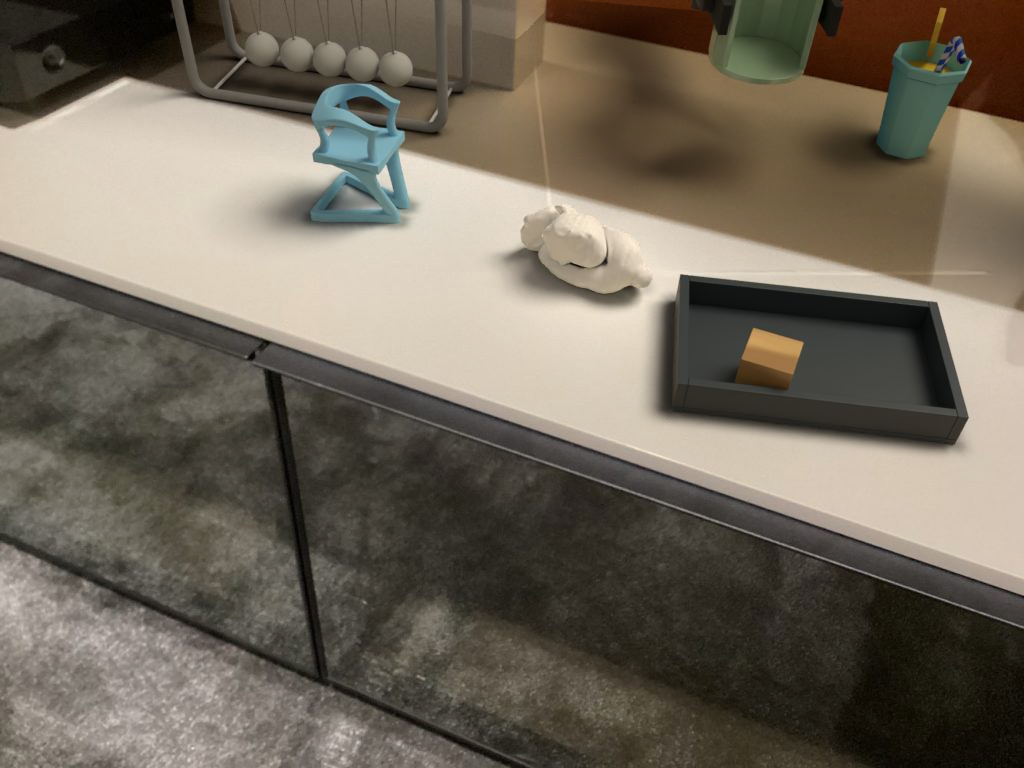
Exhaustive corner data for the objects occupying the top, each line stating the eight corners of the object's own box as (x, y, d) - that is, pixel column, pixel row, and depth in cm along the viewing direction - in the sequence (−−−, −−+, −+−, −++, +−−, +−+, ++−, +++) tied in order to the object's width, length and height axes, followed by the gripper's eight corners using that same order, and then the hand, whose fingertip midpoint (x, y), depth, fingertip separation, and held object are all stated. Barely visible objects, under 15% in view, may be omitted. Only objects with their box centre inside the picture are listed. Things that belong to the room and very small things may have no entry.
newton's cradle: (190, 97, 108) (153, -68, 96) (231, 56, 115) (202, -103, 103) (446, 137, 103) (443, -30, 91) (473, 92, 111) (473, -69, 98)
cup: (951, 193, 99) (1009, 54, 88) (874, 186, 99) (922, 47, 88) (925, 124, 108) (975, -8, 98) (856, 118, 109) (897, -14, 98)
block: (793, 374, 72) (804, 342, 75) (740, 358, 73) (753, 327, 76) (781, 411, 75) (791, 378, 78) (730, 395, 76) (743, 364, 79)
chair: (390, 237, 90) (381, 122, 82) (309, 220, 92) (292, 106, 83) (419, 194, 96) (414, 81, 87) (342, 178, 97) (330, 66, 89)
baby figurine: (662, 303, 85) (631, 262, 78) (538, 317, 90) (498, 280, 83) (664, 216, 88) (634, 169, 81) (543, 234, 93) (505, 191, 86)
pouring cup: (700, 38, 95) (719, -66, 88) (791, 40, 96) (818, -64, 89) (718, 84, 89) (740, -25, 82) (815, 86, 89) (846, -22, 82)
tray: (925, 329, 83) (937, 301, 81) (954, 445, 74) (969, 417, 71) (674, 301, 85) (680, 273, 83) (671, 411, 75) (677, 383, 73)
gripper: (823, -35, 104) (888, 62, 89) (622, -38, 103) (652, 59, 87) (842, -109, 99) (915, -20, 83) (630, -113, 98) (664, -24, 82)
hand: (780, 21), depth 85 cm, fingers closed on pouring cup, 9 cm apart
